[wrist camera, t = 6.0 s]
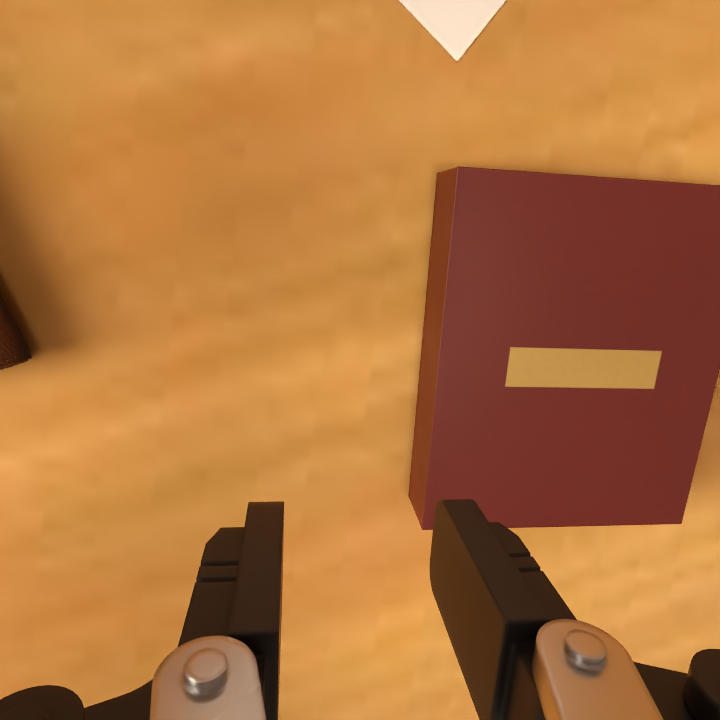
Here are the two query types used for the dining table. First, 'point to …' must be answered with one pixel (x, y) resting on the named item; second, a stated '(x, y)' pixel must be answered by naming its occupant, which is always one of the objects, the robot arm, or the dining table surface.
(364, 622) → the dining table surface
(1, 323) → the sunglasses case
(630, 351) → the hardcover
